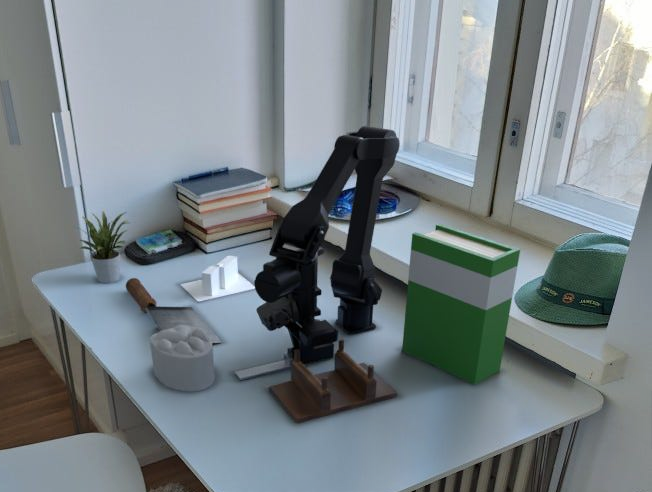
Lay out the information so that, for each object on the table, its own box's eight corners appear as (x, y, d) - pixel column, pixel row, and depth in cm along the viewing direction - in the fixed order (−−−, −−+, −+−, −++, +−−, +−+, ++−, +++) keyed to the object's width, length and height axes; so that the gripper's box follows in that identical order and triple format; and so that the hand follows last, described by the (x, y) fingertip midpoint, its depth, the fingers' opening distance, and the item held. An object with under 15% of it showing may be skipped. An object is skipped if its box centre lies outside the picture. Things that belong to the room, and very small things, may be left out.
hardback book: (402, 350, 154) (412, 233, 140) (426, 338, 157) (439, 223, 144) (474, 384, 142) (493, 260, 129) (499, 370, 146) (520, 249, 132)
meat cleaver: (222, 342, 159) (221, 324, 157) (170, 354, 156) (168, 336, 153) (170, 284, 185) (168, 268, 183) (124, 293, 182) (122, 277, 179)
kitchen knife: (327, 351, 154) (328, 338, 153) (334, 357, 152) (334, 344, 150) (234, 374, 148) (233, 360, 147) (240, 380, 146) (239, 366, 145)
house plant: (151, 268, 193) (144, 203, 183) (132, 291, 181) (123, 224, 172) (97, 265, 195) (88, 201, 186) (75, 288, 184) (64, 221, 175)
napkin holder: (236, 271, 189) (235, 249, 186) (257, 288, 181) (256, 264, 177) (179, 284, 184) (177, 261, 181) (198, 302, 175) (196, 278, 172)
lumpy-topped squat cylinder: (193, 354, 155) (190, 314, 151) (227, 381, 146) (225, 340, 141) (147, 369, 151) (142, 329, 146) (179, 398, 142) (174, 356, 137)
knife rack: (364, 366, 149) (366, 332, 145) (397, 396, 140) (400, 360, 135) (268, 390, 143) (268, 354, 139) (296, 423, 134) (296, 386, 129)
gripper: (241, 272, 147) (244, 345, 156) (282, 311, 132) (283, 389, 141) (295, 262, 150) (295, 334, 159) (340, 299, 136) (337, 375, 144)
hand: (301, 357), depth 151 cm, fingers closed on kitchen knife, 2 cm apart
